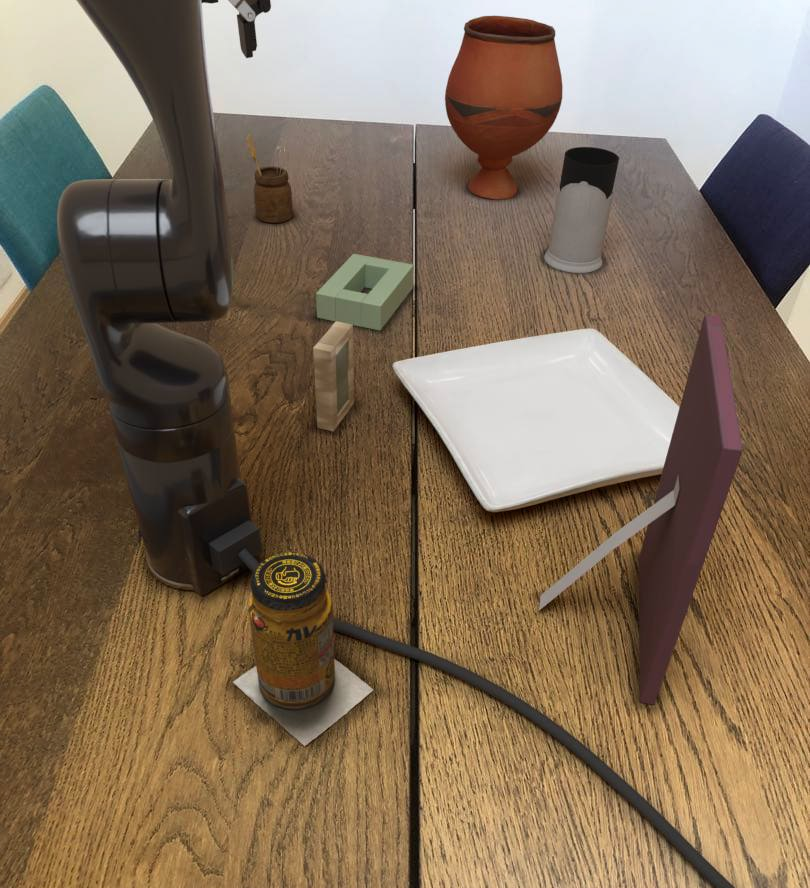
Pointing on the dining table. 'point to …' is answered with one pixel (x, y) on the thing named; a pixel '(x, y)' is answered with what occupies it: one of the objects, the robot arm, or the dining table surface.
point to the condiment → (296, 649)
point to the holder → (362, 309)
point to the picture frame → (679, 508)
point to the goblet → (503, 95)
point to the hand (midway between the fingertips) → (210, 61)
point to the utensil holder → (271, 191)
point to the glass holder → (582, 209)
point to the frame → (334, 375)
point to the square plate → (543, 415)
